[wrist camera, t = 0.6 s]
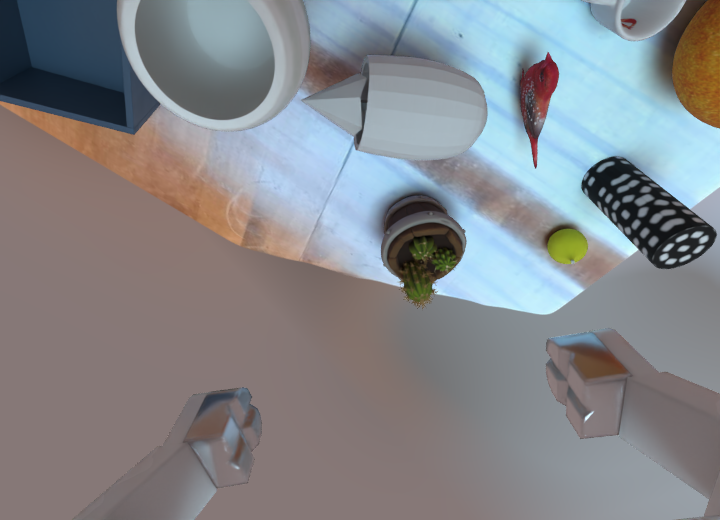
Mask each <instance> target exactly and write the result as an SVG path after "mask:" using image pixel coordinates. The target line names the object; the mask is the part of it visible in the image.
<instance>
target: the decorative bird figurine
mask: <svg viewBox="0 0 720 520" xmlns="http://www.w3.org/2000/svg"><path fill="white" fill-rule="evenodd" d="M558 78H559V71H558V67H557V65H556V63H555V62H554V61H553V60H552V58H551V56H550V54H549V52H548V53H547V56H546V59H545V60H542V61H541V62H539V63H536V64H534V65H533V66H531V67H530V68H529V69H528V71H527V72H526V74H525V76H524V70H523V71H522V78H521V81H520V87H521V95H520V103H521V112H522V116H523V121H524V126H525V129H526V132H527V134H528V136H529V139H530V143H531V148H532V155H533V162H534V166H535V169H536V167H537V143H538V136H539V134H540V132H541V130H542V127H543V125H544V122H545V119H546V115H547V111H548V106H549V102H550V98H551V95H552V93H553V92H554V91H555V89H556V86H557V83H558Z"/></svg>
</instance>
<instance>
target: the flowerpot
mask: <svg viewBox="0 0 720 520" xmlns="http://www.w3.org/2000/svg"><path fill="white" fill-rule="evenodd" d="M464 233H465V230H464V229H462V228H461V226H460V225H459V224H458V223H457V222H456V221H455V220H454V219H453V218H452V217H450V216H448V214H447V210H446V209H445V208H444V207H443V206H442V205H441V204H440V203H438V202H437V201H436V200H434V199H432V198H430V197H427V196H421V195H420V196H410V197H407V198H405V199H403V200H401V201H399V202H397V203H396V204H395V205H394V206H392V208H391V209H389V211H388V213H387V215H386V219H385V223H384V234H385V235H384V238H383V241H382V245H381V257H382V261H383V263H384V264H383V265H384V266H385V267H386V268H387V269H388V270H389V271H390V272H391V273H392V274H393V275H395V276H396V277H398V278H399V280H401V279H402V280H401V281H399V282H402V283H404V288H401V289H403V290H404V291H405V293H407V297H406V299H407V298H408V299H411V300H414V301H413V302H412V303H414V304H416V303H417V306H418V304H420V305H421V304H422V303H423V304H422V306H423V305H424V304H425V303H426V302H425V301H430V300H429V299H430V295H431V294H435V293H436V292H435V290H434V289H433V290H432V285H433V284H434V281H436V280H437V279H440V278H442V277H444V276H445V275H447V274H448V273H449V272H450V271H451V270H452V269H453V268H454V267H455V266H456V265H457V264H458V263H459V262H460V261H461V259H462V257H463V254H464V252H465V247H466V237H465V234H464ZM453 270H454V269H453ZM400 278H401V279H400ZM432 283H433V284H432ZM400 284H401V283H400ZM435 285H436V284H435ZM402 286H403V285H402ZM436 286H437V285H436ZM400 287H401V286H400ZM403 290H402V292H403ZM432 292H433V293H432ZM434 292H435V293H434ZM437 292H438V291H437ZM408 301H409V300H408ZM419 302H420V303H419ZM424 302H425V303H424ZM427 303H428V302H427ZM424 306H425V305H424ZM419 307H420V306H419Z"/></svg>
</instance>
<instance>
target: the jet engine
mask: <svg viewBox="0 0 720 520" xmlns="http://www.w3.org/2000/svg"><path fill="white" fill-rule="evenodd" d="M301 101H302V102H304V103H305V104H307V105H308V106H310V107H311V108H313V109H314V110H315V111H317V112H318V113H320V114H321V115H323V116H324V117H326V118H327V119H329V120H330V121H331V122H333V123H334V124H336V125H337V126H339V127H340V128H342V129H343V130H345V131H346V132H347V133H349V134H350V135H352V136H354V144H355V149H356V150H358V151H362V152H366V153H369V154H375V155H381V156H386V157H391V158H398V159H407V160H437V159H445V158H450V157H454V156H457V155H460V154H462V153H464V152H465V151H466V150H468V149H469V148H470V147H471V146H472V145H473V144H474V142H475V141H476V140H477V138H478V137H479V136H480V134H481V133H482V131H483V129H484V127H485V124H486V120H487V104H486V99H485V95H484V91H483V89H482V87H481V85H480V84H479V82H478V81H477V80H476V79H475V78H473V77H472V76H470V75H468V74H467V73H465V72H463V71H461V70H458V69H456V68H454V67H451V66H449V65H446V64H443V63H439V62H436V61H432V60H428V59H422V58H416V57H406V56H391V55H366V57H365V58H364V61H363V64H362V68H361V73H360V74H359V73H358V74H356V75H354V76H352V77H349V78H347V79H345V80H343V81H341V82H339V83H337V84H334V85H332V86H330V87H328V88H326V89H324V90H322V91H319V92H317V93H315V94H313V95H311V96H309V97H307V98H305V99H302V100H301Z"/></svg>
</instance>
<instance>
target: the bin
mask: <svg viewBox="0 0 720 520" xmlns="http://www.w3.org/2000/svg"><path fill="white" fill-rule="evenodd" d="M0 101H3V102H7V103H11V104H15V105H19V106H23V107H27V108H31V109H35V110H39V111H42V112H46V113H50V114H54V115H58V116H62V117H66V118H70V119H74V120H78V121H82V122H86V123H90V124H94V125H98V126H102V127H106V128H110V129H114V130H118V131H122V132H126V133H130V134H133V135H134V134H135V133H136V132H137V131H138V130H139V129H140V128H141V126H142V125H143V124H144V123H145V122H146V121H147V119H148V118H149V117H150V116H151V115H152V114H153V112H154V111H155V110H156V109H157V108H158V107H159V105H160V103H159V102H158V101H157V100H156V99H155V98H154V97H153V96H152V95H151V94H150V93H149V91H148V90H147V89H146V88H145V86H144V85H143V84H142V82H141V81H140V80H139V78H138V77H137V75H136V73H135V72H134V70H133V68H132V66H131V64H130V62H129V60H128V58H127V56H126V53H125V50H124V48H123V45H122V41H121V37H120V33H119V28H118V20H117V0H0Z"/></svg>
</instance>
